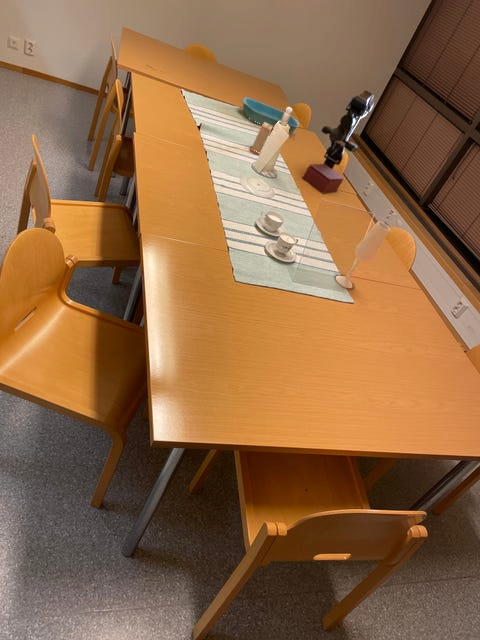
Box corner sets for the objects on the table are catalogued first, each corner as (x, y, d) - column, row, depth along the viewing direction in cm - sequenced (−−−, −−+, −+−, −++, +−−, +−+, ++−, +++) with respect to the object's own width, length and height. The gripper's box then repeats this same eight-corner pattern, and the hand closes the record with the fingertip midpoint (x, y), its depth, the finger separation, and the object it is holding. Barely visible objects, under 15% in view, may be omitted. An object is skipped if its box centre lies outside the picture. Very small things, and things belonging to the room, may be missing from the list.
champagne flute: (349, 290, 163) (389, 234, 149) (333, 279, 165) (372, 222, 151) (354, 284, 169) (394, 229, 155) (339, 273, 170) (377, 217, 156)
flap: (324, 164, 237) (324, 163, 237) (343, 178, 233) (344, 178, 233) (316, 165, 232) (317, 164, 232) (336, 179, 228) (337, 178, 227)
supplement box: (259, 155, 228) (270, 129, 220) (250, 150, 228) (261, 125, 220) (261, 150, 235) (273, 125, 227) (252, 146, 234) (264, 121, 227)
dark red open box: (317, 176, 241) (324, 163, 237) (336, 191, 237) (344, 178, 233) (302, 177, 230) (309, 164, 226) (322, 193, 226) (329, 179, 222)
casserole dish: (242, 120, 260) (247, 107, 256) (234, 104, 275) (239, 92, 271) (298, 141, 275) (304, 129, 271) (288, 125, 291) (293, 114, 287)
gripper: (324, 113, 219) (308, 144, 229) (355, 134, 213) (337, 165, 222) (335, 115, 228) (319, 145, 237) (365, 135, 222) (347, 165, 231)
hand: (330, 155), depth 231 cm, fingers closed
